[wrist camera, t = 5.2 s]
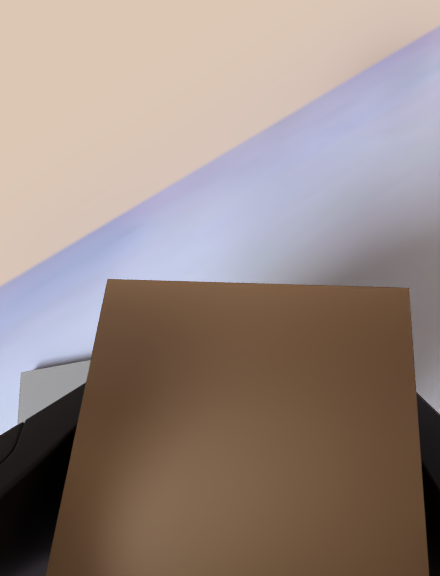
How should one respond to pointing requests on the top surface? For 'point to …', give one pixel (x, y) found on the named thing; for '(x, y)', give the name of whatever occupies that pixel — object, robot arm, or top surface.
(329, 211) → the top surface
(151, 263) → the top surface
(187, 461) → the walnut block
